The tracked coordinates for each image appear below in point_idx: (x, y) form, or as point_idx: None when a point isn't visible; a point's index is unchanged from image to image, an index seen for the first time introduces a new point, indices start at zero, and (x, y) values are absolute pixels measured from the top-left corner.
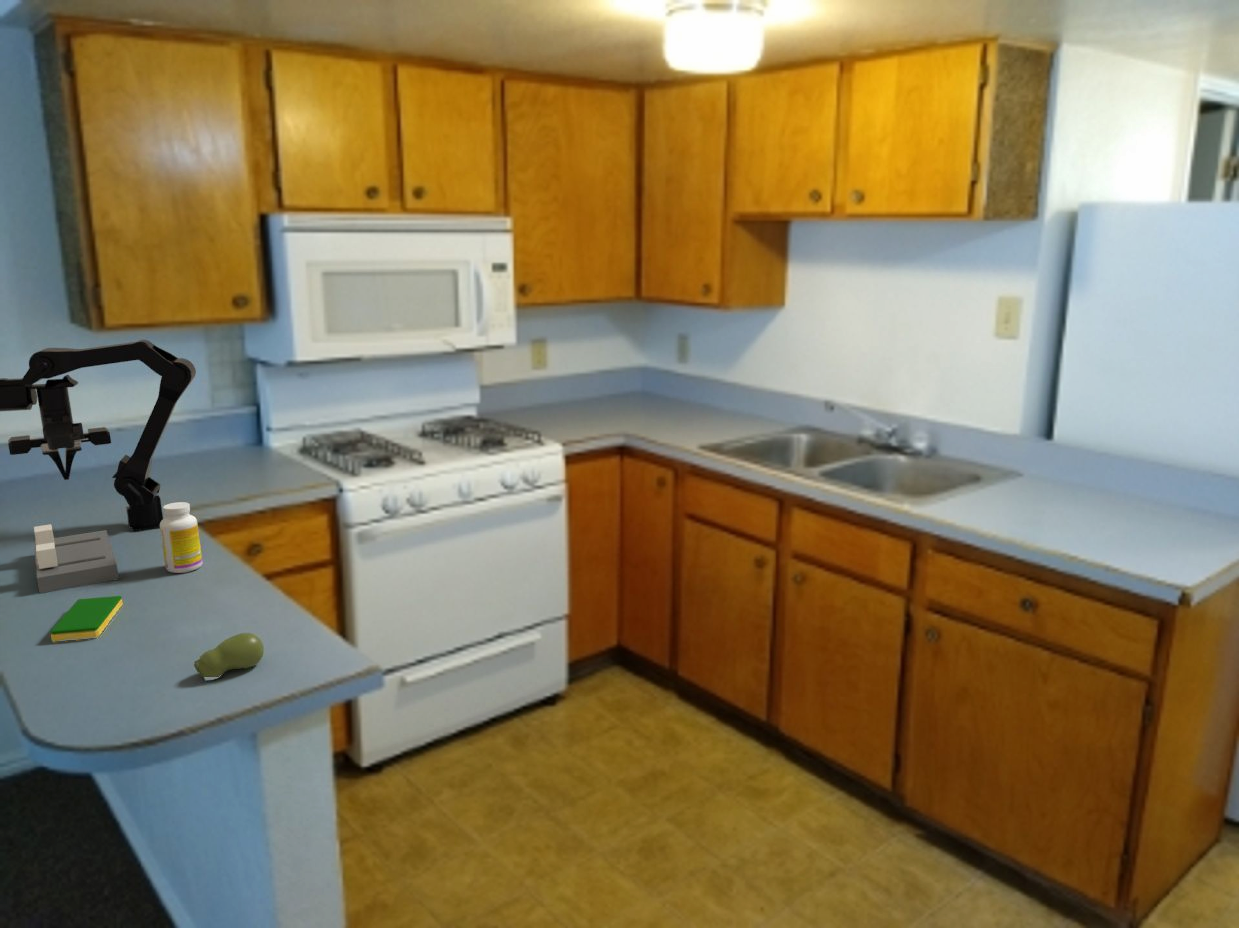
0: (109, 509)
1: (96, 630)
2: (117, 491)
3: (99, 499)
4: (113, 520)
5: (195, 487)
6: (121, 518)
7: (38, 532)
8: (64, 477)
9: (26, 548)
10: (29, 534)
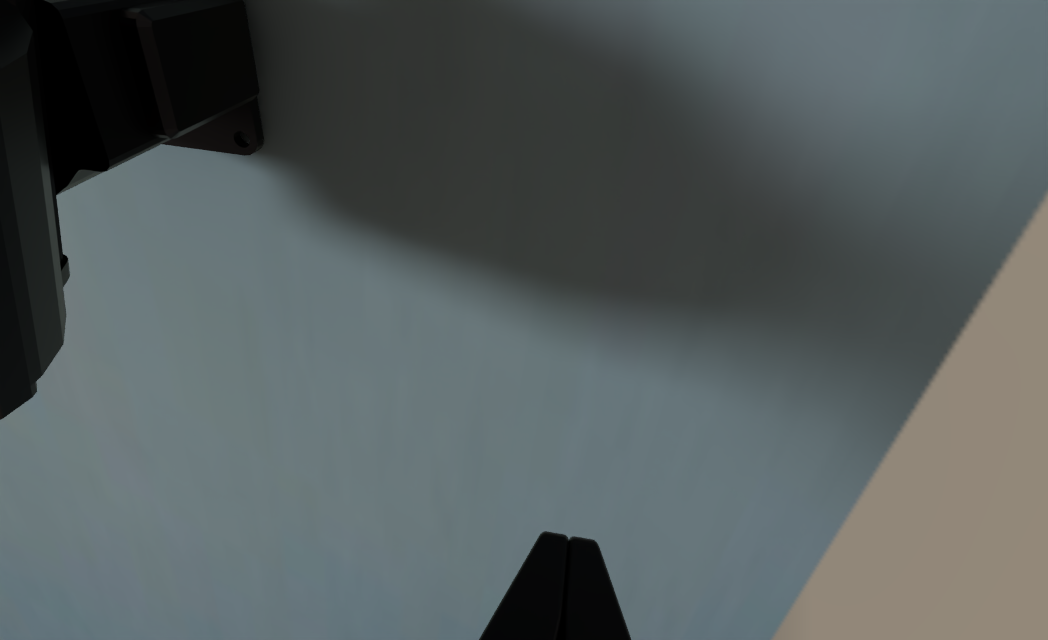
0: (384, 484)
1: None
2: (20, 47)
3: (418, 612)
4: (369, 307)
5: (54, 528)
6: (327, 314)
7: None
8: (592, 569)
9: (1018, 28)
10: (831, 354)
